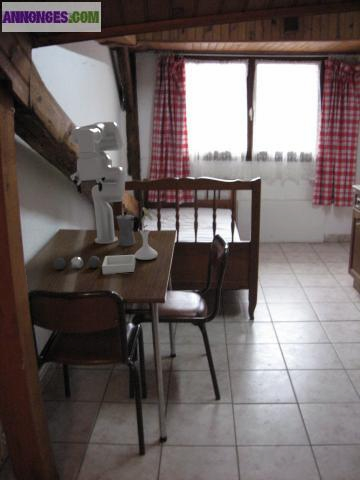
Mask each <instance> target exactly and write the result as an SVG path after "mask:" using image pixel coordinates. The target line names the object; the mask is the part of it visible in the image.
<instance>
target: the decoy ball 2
mask: <svg viewBox="0 0 360 480" xmlns="http://www.w3.org/2000/svg"><path fill="white" fill-rule="evenodd" d="M87 263H88V265H89V267H90V268H92V269H95V268H98V267H99V266H100V265H101V260H100V258H99V257H98V256H97V255H93V256H90V257H89V258H88V261H87Z"/></svg>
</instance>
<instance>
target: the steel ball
mask: <svg viewBox="0 0 360 480" xmlns="http://www.w3.org/2000/svg"><path fill="white" fill-rule="evenodd" d="M83 264H84V261H83V258H81V257H79V256H74V257H73V258H72V259H71V260H70V265H71V267H72V268H73V269H75V270H76V269H81V268H82V266H83Z"/></svg>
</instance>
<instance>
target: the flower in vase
mask: <svg viewBox="0 0 360 480" xmlns="http://www.w3.org/2000/svg"><path fill="white" fill-rule="evenodd" d="M142 211H143V213H144V217H143V221H142V223H141V224H142V226H143V227H142V229H141V230H139V233H140V235H141V236H142V246H140V248H139V249H138V250H136V252H135V253H134V255H135V259H137V260H141V261H142V260H143V261H145V260H146V261H148V260H153V259H155V258H157V257H158V255H159V254H158V251H157V250H156V249H153V248H152V247H151V246H150V245H149V241H148V240H149V234H150V232H151V230H150V229H145V228H146V227H148V225H147V224H144V222H145V218H146V217H147V218H148V219H149V220H150V221H153V220H154V219H153V216H152V215H151V214H150V211H148V210H147V208H146V207H145V206H143V207H142Z"/></svg>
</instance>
